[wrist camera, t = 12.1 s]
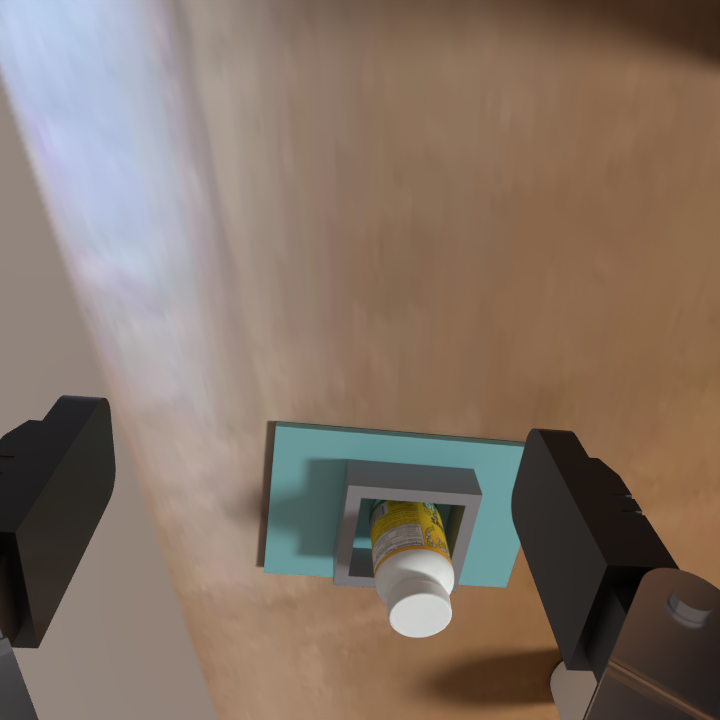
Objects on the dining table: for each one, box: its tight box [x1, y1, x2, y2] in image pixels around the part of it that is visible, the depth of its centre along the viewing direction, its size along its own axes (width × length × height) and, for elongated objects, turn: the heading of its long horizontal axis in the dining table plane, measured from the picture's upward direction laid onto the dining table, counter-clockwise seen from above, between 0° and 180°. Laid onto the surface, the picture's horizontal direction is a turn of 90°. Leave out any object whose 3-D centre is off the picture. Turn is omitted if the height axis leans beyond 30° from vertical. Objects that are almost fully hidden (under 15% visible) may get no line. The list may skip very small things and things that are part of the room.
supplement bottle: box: [369, 499, 454, 637], centre depth 44 cm, size 5×5×10 cm
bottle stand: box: [264, 421, 526, 592], centre depth 47 cm, size 20×14×4 cm
